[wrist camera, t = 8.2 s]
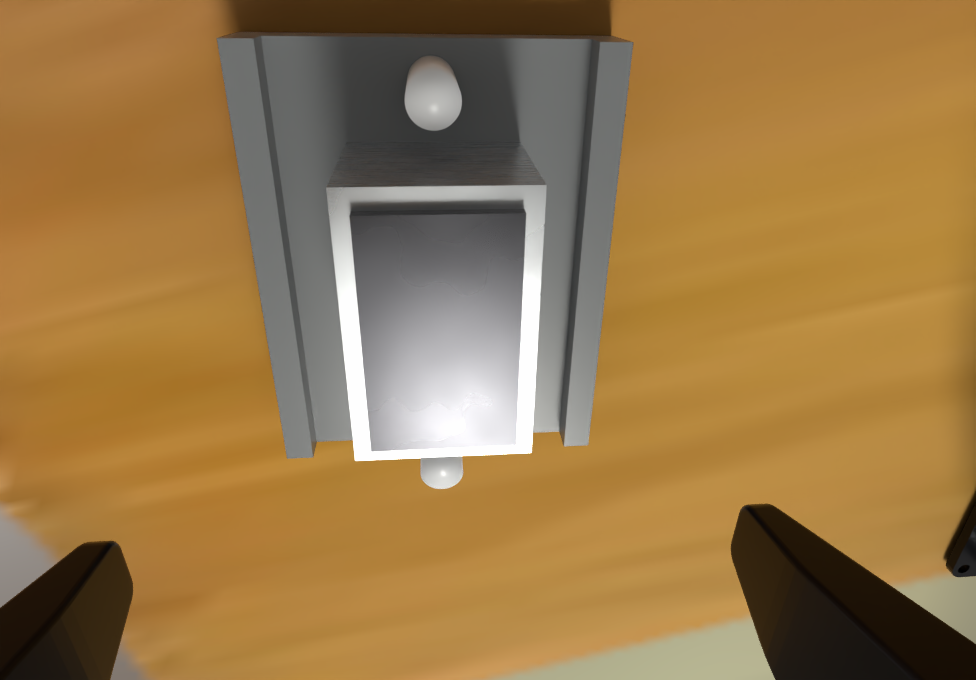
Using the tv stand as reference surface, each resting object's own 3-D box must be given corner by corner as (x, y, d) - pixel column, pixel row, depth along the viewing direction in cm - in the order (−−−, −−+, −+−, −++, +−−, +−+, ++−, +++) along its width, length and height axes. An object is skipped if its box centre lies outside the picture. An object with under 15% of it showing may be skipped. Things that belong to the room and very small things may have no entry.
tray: (575, 410, 23) (604, 491, 19) (297, 420, 22) (273, 508, 19) (611, 36, 17) (663, 51, 14) (238, 31, 16) (186, 46, 13)
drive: (511, 368, 21) (533, 460, 17) (366, 373, 20) (354, 468, 16) (519, 140, 17) (549, 188, 13) (346, 142, 17) (323, 192, 13)
